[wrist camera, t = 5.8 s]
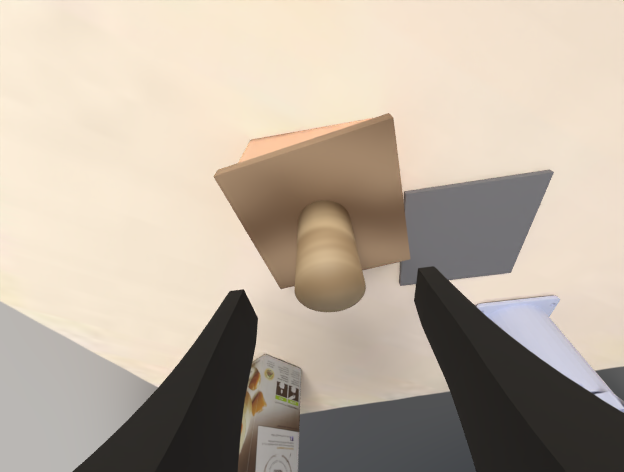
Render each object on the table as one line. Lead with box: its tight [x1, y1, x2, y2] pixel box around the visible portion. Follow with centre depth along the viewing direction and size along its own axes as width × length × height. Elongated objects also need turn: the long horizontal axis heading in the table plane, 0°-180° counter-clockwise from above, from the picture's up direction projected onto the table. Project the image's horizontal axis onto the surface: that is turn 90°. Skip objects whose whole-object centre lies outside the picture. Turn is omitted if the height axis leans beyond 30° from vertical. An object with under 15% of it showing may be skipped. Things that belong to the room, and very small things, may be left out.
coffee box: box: [238, 355, 301, 472], centre depth 30 cm, size 9×6×16 cm
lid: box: [214, 113, 410, 312], centre depth 13 cm, size 9×9×6 cm
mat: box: [399, 170, 554, 286], centre depth 22 cm, size 10×10×1 cm
